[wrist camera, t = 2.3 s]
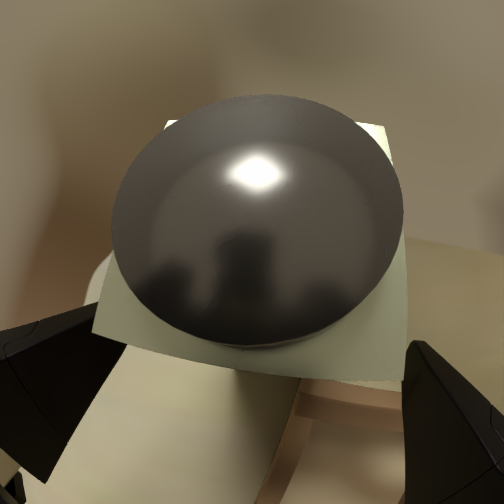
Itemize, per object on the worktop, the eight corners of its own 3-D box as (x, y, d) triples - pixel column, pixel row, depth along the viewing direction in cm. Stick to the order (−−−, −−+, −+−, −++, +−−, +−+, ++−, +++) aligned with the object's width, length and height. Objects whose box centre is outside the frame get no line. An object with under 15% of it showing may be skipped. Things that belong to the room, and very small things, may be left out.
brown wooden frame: (379, 538, 8) (392, 561, 5) (243, 524, 11) (234, 550, 8) (442, 396, 13) (470, 398, 9) (302, 374, 15) (306, 376, 12)
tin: (315, 369, 15) (429, 381, 2) (233, 360, 16) (61, 323, 3) (323, 290, 17) (391, 98, 4) (245, 283, 18) (157, 96, 5)
